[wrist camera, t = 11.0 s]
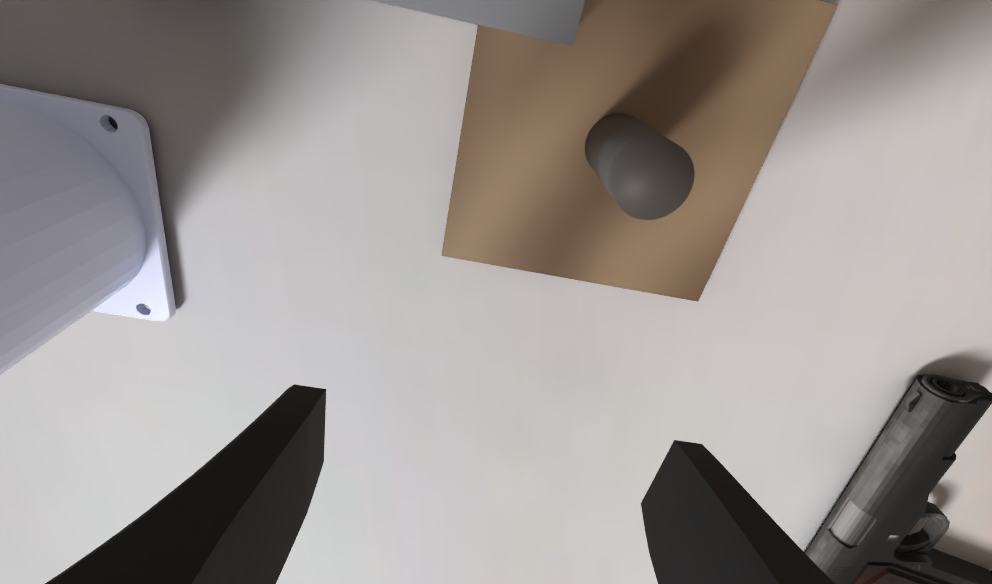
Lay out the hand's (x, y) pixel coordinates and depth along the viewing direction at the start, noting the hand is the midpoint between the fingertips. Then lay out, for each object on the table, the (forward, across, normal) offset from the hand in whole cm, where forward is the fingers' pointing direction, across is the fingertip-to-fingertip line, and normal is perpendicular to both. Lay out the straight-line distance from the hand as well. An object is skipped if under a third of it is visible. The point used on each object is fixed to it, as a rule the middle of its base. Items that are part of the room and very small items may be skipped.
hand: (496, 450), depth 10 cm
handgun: (+10, -26, +10) cm, 30 cm away
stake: (+9, -3, -5) cm, 11 cm away
